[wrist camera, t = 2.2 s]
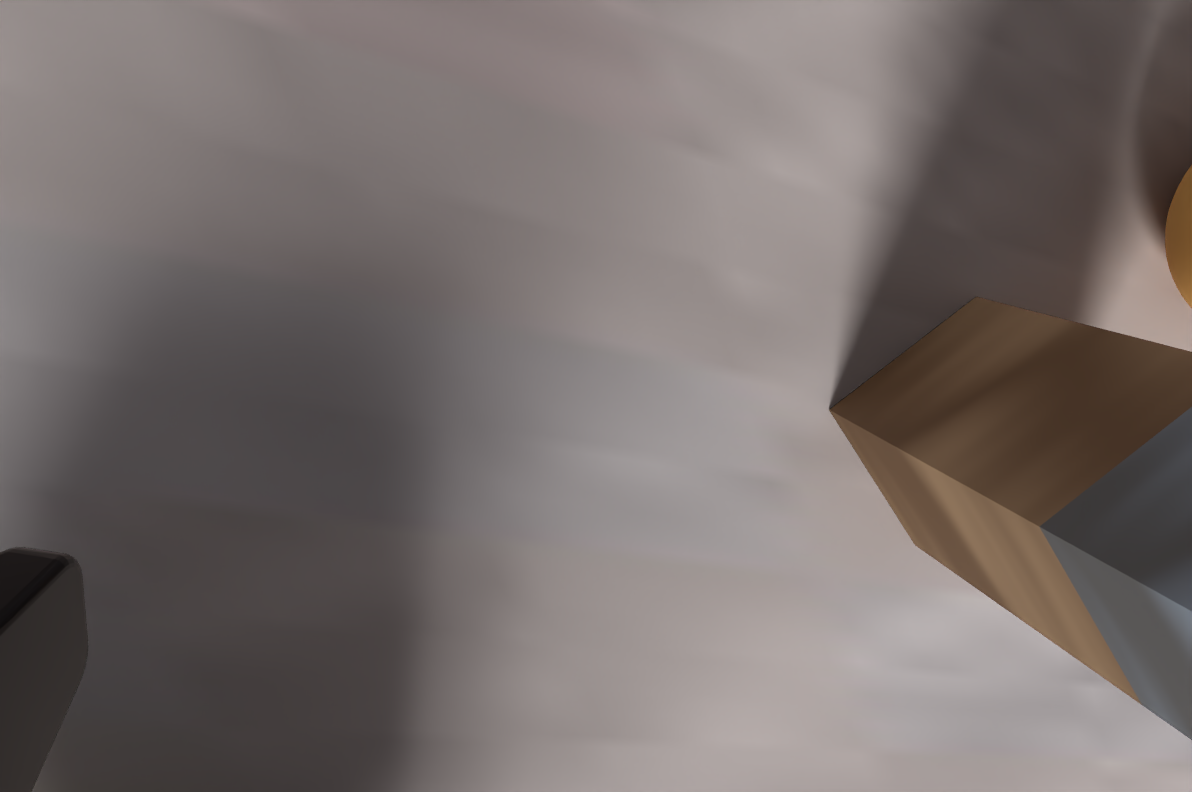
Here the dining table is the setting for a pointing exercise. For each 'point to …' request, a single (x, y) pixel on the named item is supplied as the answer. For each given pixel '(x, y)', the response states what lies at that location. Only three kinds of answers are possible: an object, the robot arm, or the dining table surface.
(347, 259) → the dining table surface
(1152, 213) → the dining table surface
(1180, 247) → the ball
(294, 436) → the dining table surface
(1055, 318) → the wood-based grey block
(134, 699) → the dining table surface
